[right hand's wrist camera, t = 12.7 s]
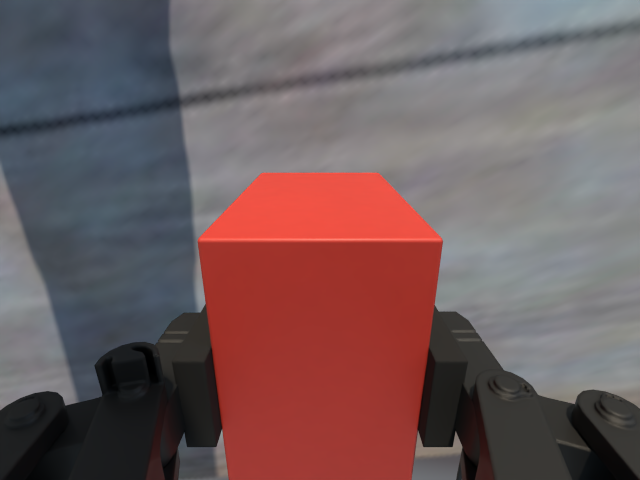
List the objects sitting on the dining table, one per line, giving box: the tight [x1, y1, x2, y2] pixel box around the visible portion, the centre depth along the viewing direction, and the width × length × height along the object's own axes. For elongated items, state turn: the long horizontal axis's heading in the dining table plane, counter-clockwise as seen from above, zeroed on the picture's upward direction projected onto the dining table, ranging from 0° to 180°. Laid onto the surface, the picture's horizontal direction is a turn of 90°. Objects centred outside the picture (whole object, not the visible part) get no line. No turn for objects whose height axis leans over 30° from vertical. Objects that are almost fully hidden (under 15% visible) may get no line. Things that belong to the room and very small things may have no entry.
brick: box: [198, 173, 443, 480], centre depth 13 cm, size 5×8×9 cm
